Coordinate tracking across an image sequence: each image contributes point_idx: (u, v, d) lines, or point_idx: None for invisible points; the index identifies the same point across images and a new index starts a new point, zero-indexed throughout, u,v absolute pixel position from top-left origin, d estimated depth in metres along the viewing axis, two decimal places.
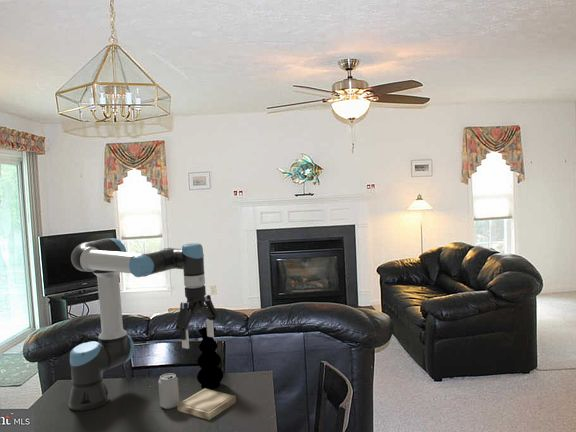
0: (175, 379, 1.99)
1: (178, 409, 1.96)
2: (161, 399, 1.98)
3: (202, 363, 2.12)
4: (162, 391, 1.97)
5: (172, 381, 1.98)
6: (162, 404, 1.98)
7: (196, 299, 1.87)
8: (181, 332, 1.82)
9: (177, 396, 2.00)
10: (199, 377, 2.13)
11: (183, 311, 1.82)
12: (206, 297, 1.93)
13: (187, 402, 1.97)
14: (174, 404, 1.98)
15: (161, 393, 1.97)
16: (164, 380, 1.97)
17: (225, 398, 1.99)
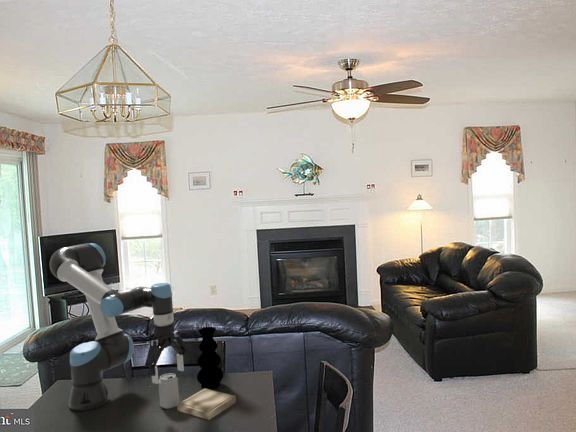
0: (175, 379, 1.99)
1: (178, 409, 1.96)
2: (161, 399, 1.98)
3: (202, 363, 2.12)
4: (162, 391, 1.97)
5: (172, 381, 1.98)
6: (162, 404, 1.98)
7: (165, 336, 1.97)
8: (150, 368, 1.92)
9: (177, 396, 2.00)
10: (199, 377, 2.13)
11: (152, 348, 1.92)
12: (175, 333, 2.03)
13: (187, 402, 1.97)
14: (174, 404, 1.98)
15: (161, 393, 1.97)
16: (164, 380, 1.97)
17: (225, 398, 1.99)
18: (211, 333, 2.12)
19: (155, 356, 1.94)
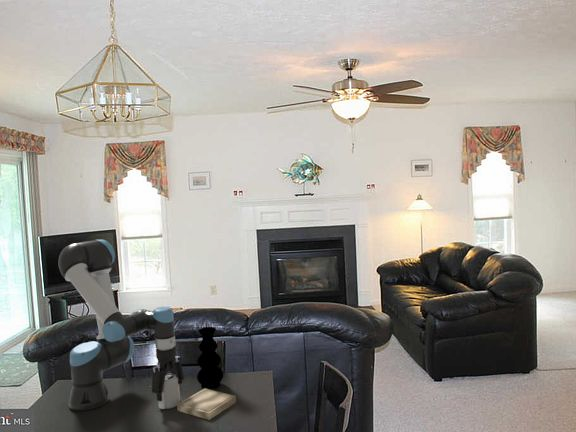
0: (175, 379, 1.99)
1: (178, 409, 1.96)
2: None
3: (202, 363, 2.12)
4: (162, 391, 1.97)
5: (172, 381, 1.98)
6: None
7: (167, 360, 1.98)
8: (157, 394, 1.96)
9: (177, 396, 2.00)
10: (199, 377, 2.13)
11: (155, 375, 1.94)
12: (177, 358, 2.04)
13: (187, 402, 1.97)
14: (174, 404, 1.98)
15: None
16: None
17: (225, 398, 1.99)
18: (211, 333, 2.12)
19: (160, 382, 1.96)
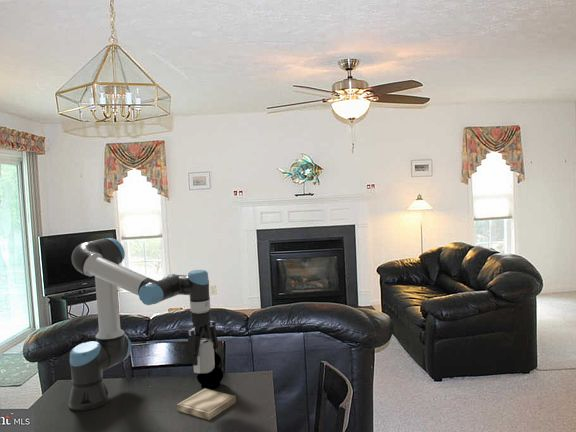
0: (210, 343, 1.95)
1: (178, 409, 1.96)
2: None
3: None
4: None
5: (207, 345, 1.94)
6: None
7: (202, 324, 1.94)
8: (193, 358, 1.92)
9: (212, 361, 1.96)
10: (199, 377, 2.13)
11: (191, 338, 1.90)
12: (211, 323, 2.00)
13: (187, 402, 1.97)
14: (209, 368, 1.94)
15: None
16: None
17: (225, 398, 1.99)
18: None
19: (195, 345, 1.93)
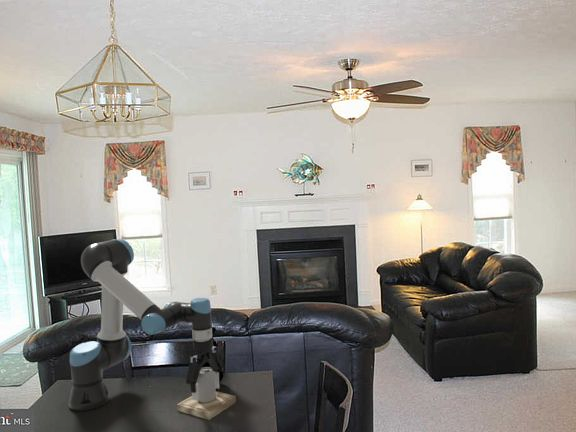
0: (212, 373, 1.97)
1: (178, 409, 1.96)
2: None
3: None
4: (199, 385, 1.94)
5: (209, 375, 1.95)
6: (199, 398, 1.95)
7: (204, 352, 1.95)
8: (191, 385, 1.91)
9: (214, 390, 1.97)
10: None
11: (192, 365, 1.91)
12: (213, 349, 2.01)
13: (187, 402, 1.97)
14: (211, 398, 1.96)
15: (198, 387, 1.95)
16: (201, 374, 1.95)
17: (225, 398, 1.99)
18: None
19: (195, 373, 1.93)
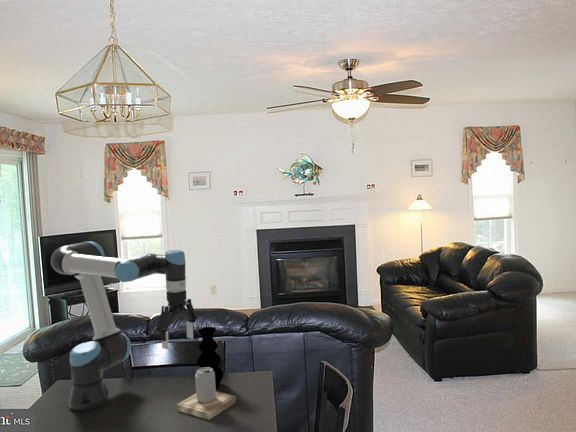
0: (212, 373, 1.97)
1: (178, 409, 1.96)
2: (198, 393, 1.95)
3: (202, 363, 2.12)
4: (199, 385, 1.94)
5: (209, 375, 1.95)
6: (199, 398, 1.95)
7: (177, 303, 1.98)
8: (161, 334, 1.94)
9: (214, 390, 1.97)
10: None
11: (164, 314, 1.93)
12: (187, 301, 2.04)
13: (187, 402, 1.97)
14: (211, 398, 1.96)
15: (198, 387, 1.95)
16: (201, 374, 1.94)
17: (225, 398, 1.99)
18: (211, 333, 2.12)
19: (166, 322, 1.95)
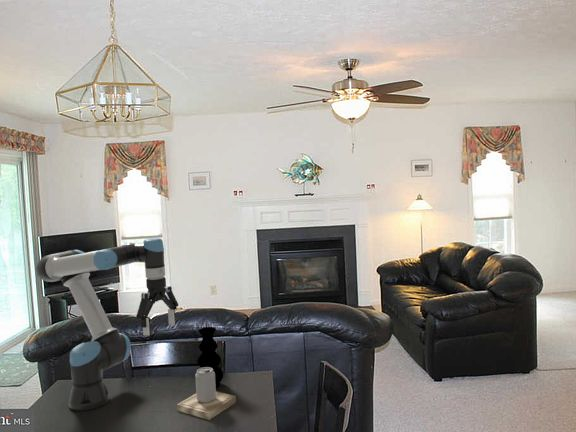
0: (212, 373, 1.97)
1: (178, 409, 1.96)
2: (198, 393, 1.95)
3: (202, 363, 2.12)
4: (199, 385, 1.94)
5: (210, 375, 1.95)
6: (199, 398, 1.95)
7: (157, 290, 2.02)
8: (142, 320, 1.97)
9: (214, 390, 1.97)
10: None
11: (144, 301, 1.97)
12: (167, 288, 2.07)
13: (187, 402, 1.97)
14: (211, 398, 1.96)
15: (198, 387, 1.95)
16: (202, 374, 1.94)
17: (225, 398, 1.99)
18: (211, 333, 2.12)
19: (146, 308, 1.98)
